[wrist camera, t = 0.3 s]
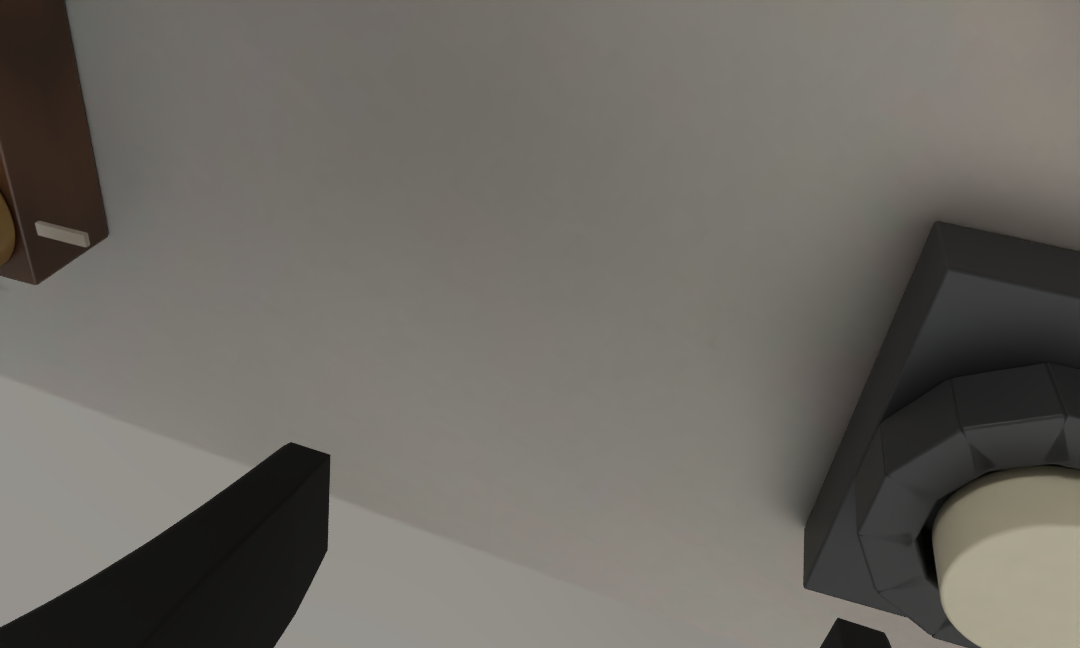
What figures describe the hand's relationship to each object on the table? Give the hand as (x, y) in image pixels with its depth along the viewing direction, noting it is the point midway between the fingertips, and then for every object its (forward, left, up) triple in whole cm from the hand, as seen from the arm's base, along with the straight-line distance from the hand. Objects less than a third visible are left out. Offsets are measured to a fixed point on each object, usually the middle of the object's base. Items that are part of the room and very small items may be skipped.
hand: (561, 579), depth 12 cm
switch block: (-3, -9, -11) cm, 15 cm away
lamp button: (-3, -9, -7) cm, 12 cm away
